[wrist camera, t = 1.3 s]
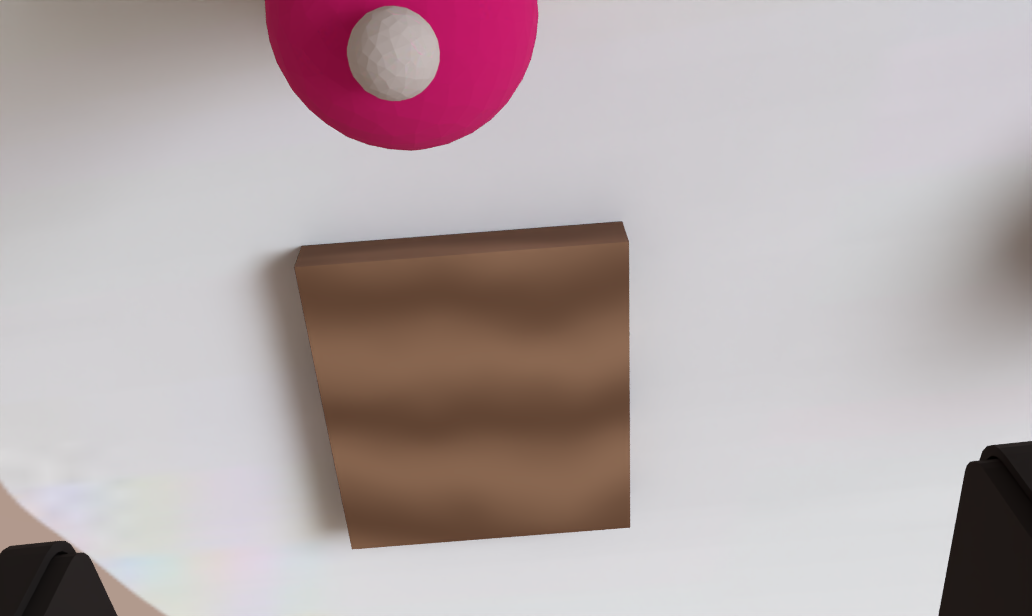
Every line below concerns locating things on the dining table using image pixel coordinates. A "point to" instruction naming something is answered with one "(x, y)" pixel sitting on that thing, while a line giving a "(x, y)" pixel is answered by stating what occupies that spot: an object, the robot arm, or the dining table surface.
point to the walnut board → (474, 381)
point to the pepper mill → (403, 64)
